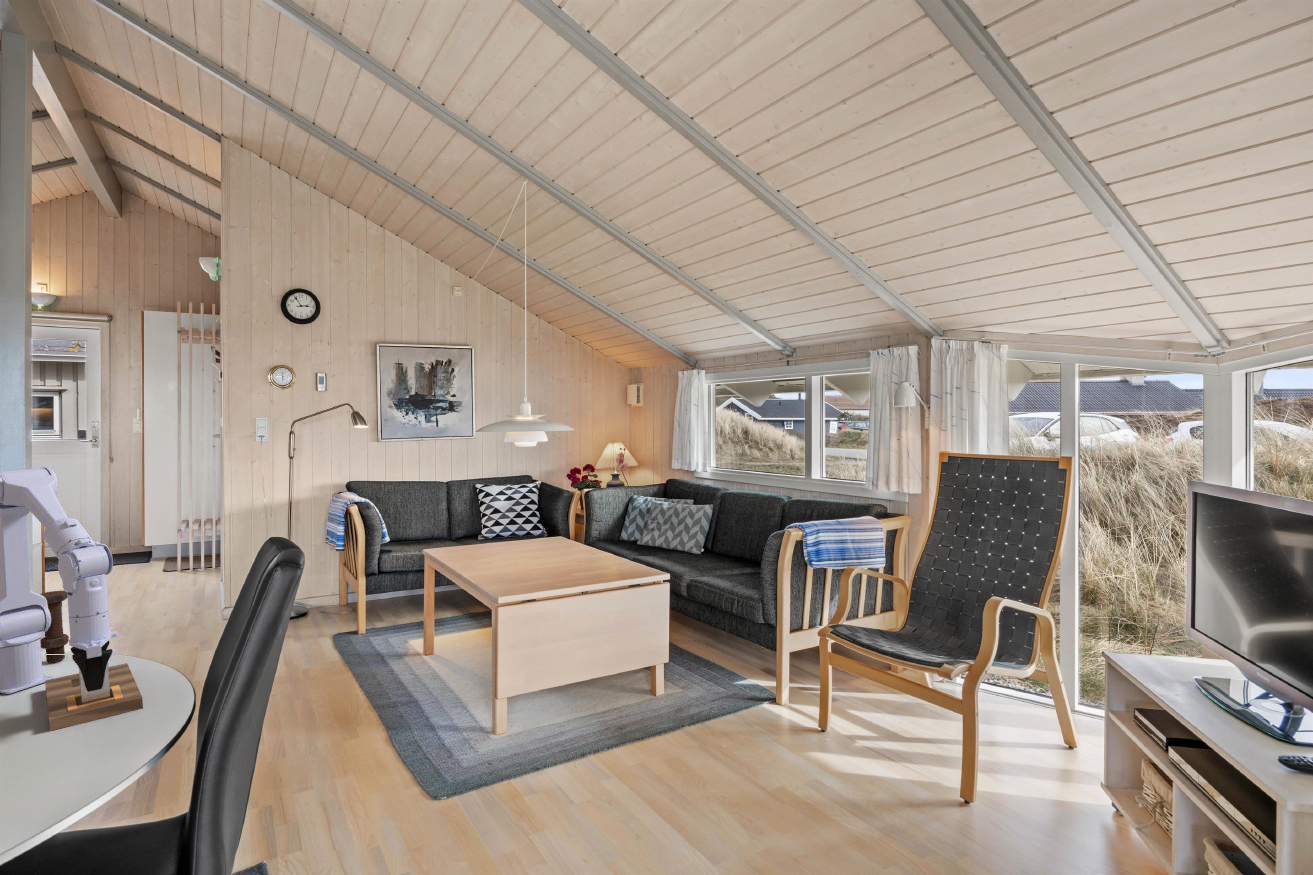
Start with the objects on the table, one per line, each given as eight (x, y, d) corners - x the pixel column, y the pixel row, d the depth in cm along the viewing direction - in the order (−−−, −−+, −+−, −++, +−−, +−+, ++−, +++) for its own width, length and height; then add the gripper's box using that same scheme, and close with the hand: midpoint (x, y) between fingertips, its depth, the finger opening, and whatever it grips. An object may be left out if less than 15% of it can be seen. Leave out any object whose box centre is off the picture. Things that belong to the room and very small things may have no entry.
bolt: (78, 657, 159) (73, 590, 158) (57, 665, 154) (52, 596, 153) (54, 657, 160) (49, 590, 159) (32, 665, 155) (27, 596, 154)
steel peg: (81, 704, 132) (78, 661, 131) (108, 698, 135) (105, 656, 134) (82, 711, 129) (79, 667, 128) (110, 704, 132) (107, 661, 131)
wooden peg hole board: (45, 690, 141) (45, 679, 141) (127, 672, 149) (127, 661, 149) (50, 731, 123) (49, 718, 123) (143, 707, 132) (142, 696, 131)
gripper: (120, 616, 128) (125, 691, 129) (112, 600, 139) (116, 669, 140) (69, 625, 123) (74, 703, 124) (65, 608, 134) (70, 679, 135)
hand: (93, 686), depth 131 cm, fingers closed on steel peg, 4 cm apart
